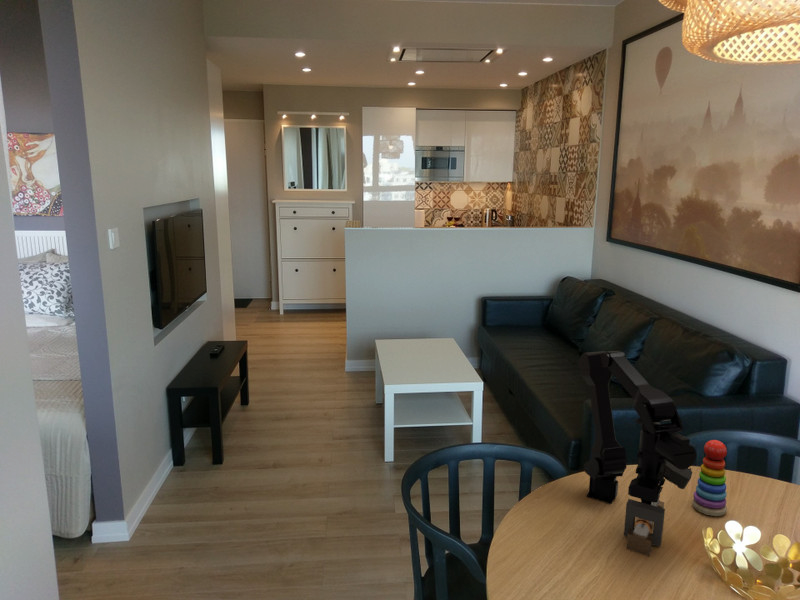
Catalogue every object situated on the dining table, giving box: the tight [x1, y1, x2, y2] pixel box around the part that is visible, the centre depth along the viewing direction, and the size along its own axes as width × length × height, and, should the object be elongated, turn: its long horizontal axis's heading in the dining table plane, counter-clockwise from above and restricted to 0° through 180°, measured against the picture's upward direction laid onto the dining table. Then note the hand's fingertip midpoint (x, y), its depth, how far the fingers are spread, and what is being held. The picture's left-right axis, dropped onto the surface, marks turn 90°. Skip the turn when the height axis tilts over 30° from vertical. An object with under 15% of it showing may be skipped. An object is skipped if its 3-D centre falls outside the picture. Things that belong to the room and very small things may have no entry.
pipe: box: [625, 499, 665, 557], centre depth 137 cm, size 18×5×6 cm, turn 147°
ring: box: [623, 498, 666, 548], centre depth 133 cm, size 2×8×8 cm, turn 57°
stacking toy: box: [691, 439, 728, 517], centre depth 145 cm, size 8×8×19 cm
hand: (647, 508), depth 135 cm, fingers closed
